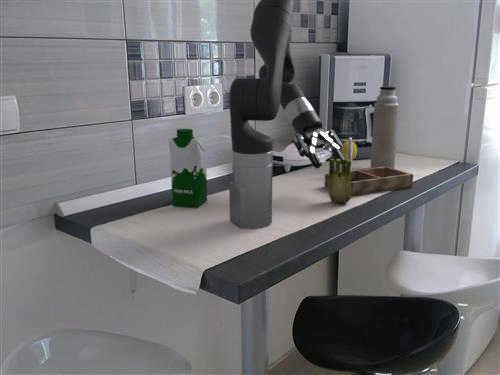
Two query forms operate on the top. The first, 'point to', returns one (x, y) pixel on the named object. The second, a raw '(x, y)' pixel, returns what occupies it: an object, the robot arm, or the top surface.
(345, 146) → the lemon
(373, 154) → the thermos bottle
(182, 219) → the top surface
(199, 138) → the milk carton
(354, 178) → the caddy
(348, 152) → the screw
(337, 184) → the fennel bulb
